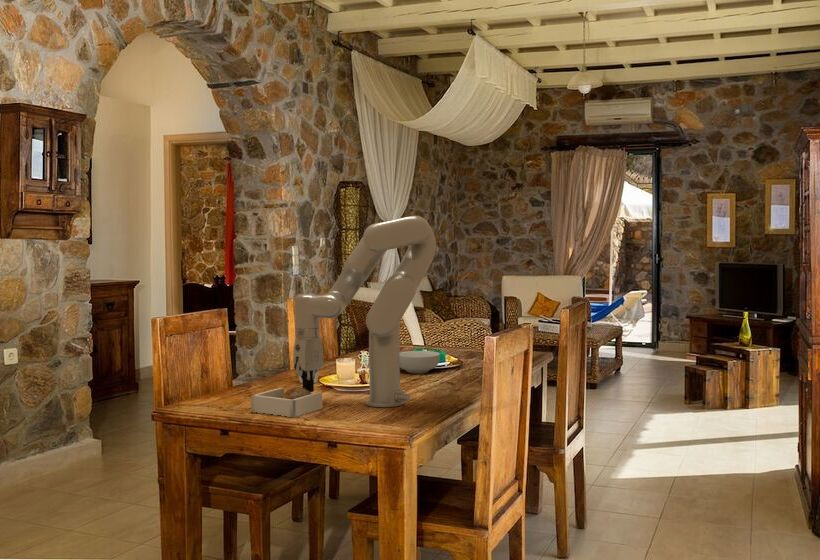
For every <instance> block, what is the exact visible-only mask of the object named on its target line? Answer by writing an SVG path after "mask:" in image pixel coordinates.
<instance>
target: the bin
mask: <svg viewBox="0 0 820 560" xmlns="http://www.w3.org/2000/svg"><path fill="white" fill-rule="evenodd" d="M284 393H285V387H279V388H278V387H277V388H275V389H271V390H270V389H269V390H267V391H263V392H259V393H254V394H252V395H251V396H250V402H251V404H250V406H251V407H250V409H251V412H250V413H256V412H257V413H256V414H263V413H265V414H264V415H270V414H273V415H272V416H277V415H281V416H280V417H284V416H287V417H286V418H291V417H292V418H297V417H299V416H303V414H304V415H307V414H309V413H313V412H316V411H319V410H322V409H323V392H322V391H317V392H314V393H313V392H312V393H311V394H310V395H306V396H303V397H300V398H296V399H293V400H292V399H284V398H281V396H282V395H283V394H284ZM306 413H307V414H306ZM292 418H291V419H292Z"/></svg>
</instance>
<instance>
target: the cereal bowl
mask: <svg viewBox="0 0 820 560" xmlns="http://www.w3.org/2000/svg"><path fill="white" fill-rule="evenodd" d="M440 356H441V355H440V353H439V352H437V351H430V350H429V351H427V350H410V351H402V352H401V351H400V369H402V370H404V371H406V372H407V373H408V374H409V373H410V374H425V373H426V374H427V373H428V372H429V371H430V370H431V371H432V370H433V369H435V368H436V367H438V365H439V363H440V360H441V357H440Z"/></svg>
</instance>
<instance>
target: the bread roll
mask: <svg viewBox="0 0 820 560" xmlns="http://www.w3.org/2000/svg"><path fill="white" fill-rule="evenodd" d="M310 394H312V392H310V391H308V390H306V389H305V388H303V387H299V386H295V387H292V388H289V389H288V390H286V391H284V394H283V395H282V396H281V398H284V399H292V400H293V399H296V398H300V397H303V396H306V395H310Z"/></svg>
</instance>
